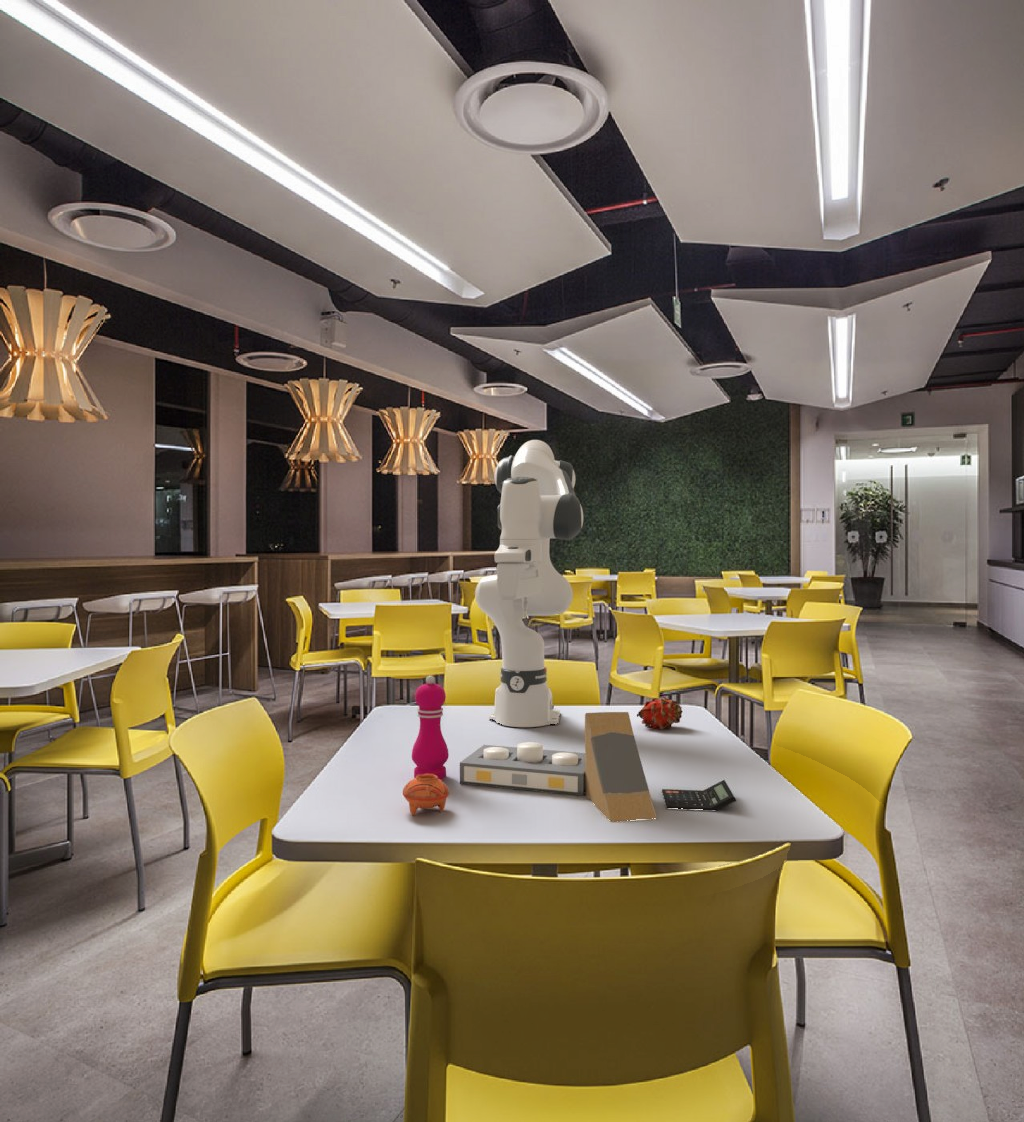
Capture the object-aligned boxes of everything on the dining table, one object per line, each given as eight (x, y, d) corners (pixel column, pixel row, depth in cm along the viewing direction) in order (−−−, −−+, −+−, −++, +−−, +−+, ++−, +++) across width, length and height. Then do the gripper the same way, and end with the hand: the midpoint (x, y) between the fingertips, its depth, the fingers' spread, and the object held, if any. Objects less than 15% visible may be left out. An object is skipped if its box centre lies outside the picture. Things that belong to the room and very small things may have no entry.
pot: (393, 806, 126) (401, 766, 127) (435, 810, 129) (443, 772, 130) (405, 819, 119) (415, 777, 120) (450, 824, 122) (458, 783, 123)
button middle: (521, 762, 146) (521, 741, 146) (545, 764, 144) (545, 743, 144) (514, 769, 141) (514, 747, 141) (539, 771, 140) (539, 749, 140)
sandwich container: (609, 823, 119) (609, 732, 119) (583, 794, 134) (583, 712, 134) (659, 820, 120) (659, 729, 120) (628, 791, 136) (628, 710, 136)
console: (483, 763, 153) (483, 744, 153) (597, 773, 146) (597, 753, 146) (458, 784, 139) (458, 763, 139) (582, 796, 132) (582, 774, 132)
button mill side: (488, 766, 148) (488, 746, 148) (511, 768, 146) (511, 748, 146) (479, 773, 143) (479, 752, 143) (504, 776, 142) (504, 754, 142)
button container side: (555, 772, 144) (555, 751, 144) (580, 775, 142) (580, 753, 142) (549, 780, 139) (549, 758, 139) (575, 782, 138) (575, 760, 138)
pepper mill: (416, 784, 139) (417, 679, 139) (407, 774, 145) (407, 673, 145) (453, 780, 141) (453, 677, 141) (442, 770, 148) (442, 671, 148)
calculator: (662, 793, 135) (662, 777, 135) (726, 795, 134) (726, 779, 134) (667, 811, 125) (667, 793, 125) (736, 813, 124) (736, 796, 124)
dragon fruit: (686, 734, 185) (640, 742, 185) (676, 709, 192) (631, 716, 191) (689, 712, 180) (641, 719, 180) (678, 687, 187) (632, 694, 186)
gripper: (520, 553, 165) (520, 613, 165) (491, 553, 146) (491, 623, 146) (547, 553, 163) (547, 614, 163) (521, 553, 144) (521, 623, 144)
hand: (520, 618), depth 154 cm, fingers closed
